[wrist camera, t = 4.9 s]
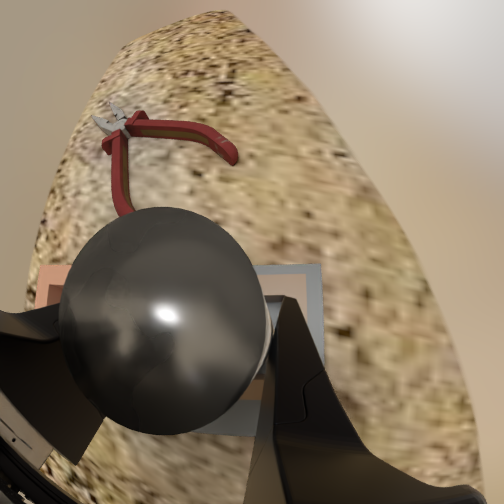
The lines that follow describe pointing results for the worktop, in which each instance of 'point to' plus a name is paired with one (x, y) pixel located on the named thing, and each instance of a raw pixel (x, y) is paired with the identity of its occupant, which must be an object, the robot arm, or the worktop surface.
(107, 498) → the worktop surface
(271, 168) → the worktop surface
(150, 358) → the peg
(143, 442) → the worktop surface
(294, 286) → the dock plate
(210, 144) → the pliers
